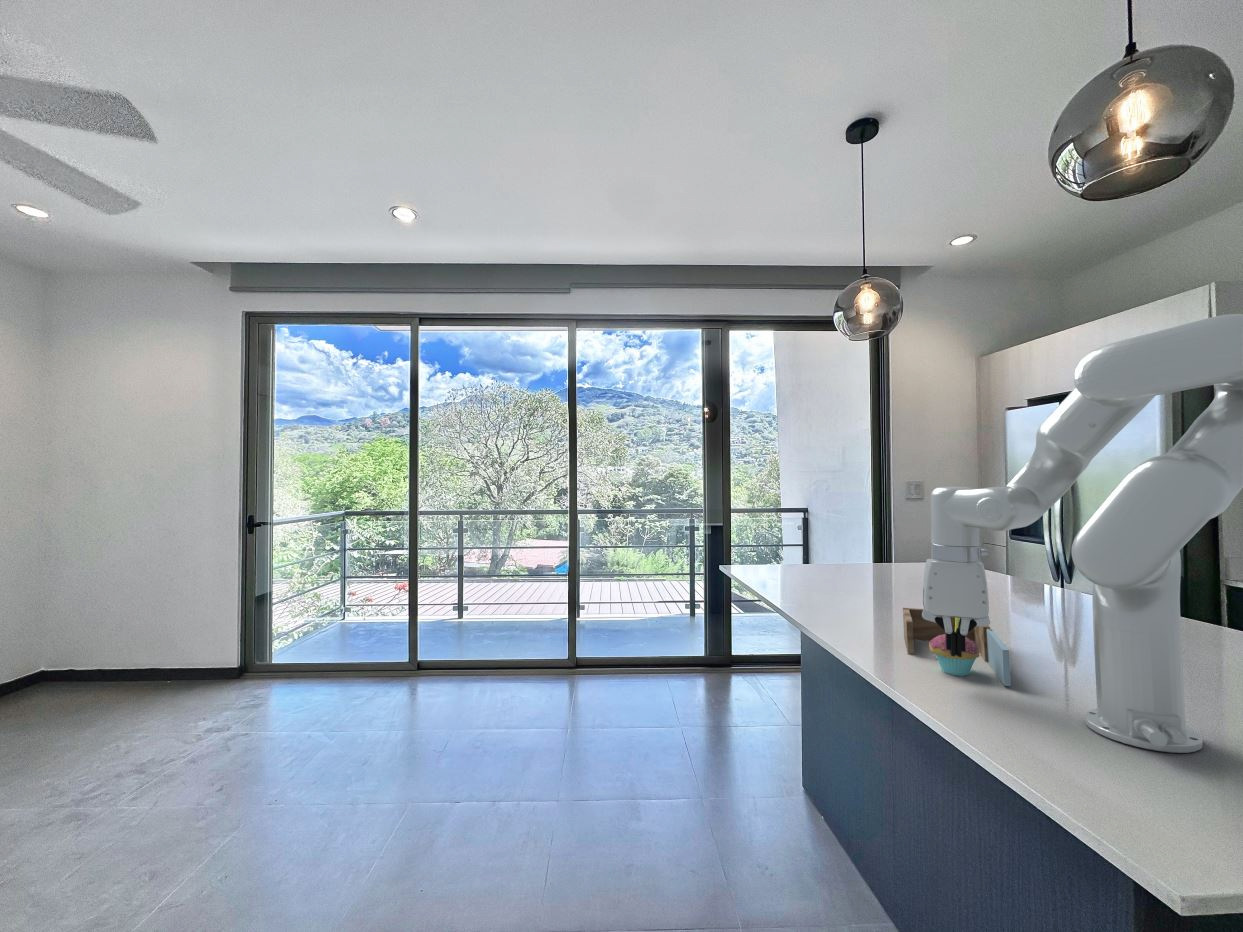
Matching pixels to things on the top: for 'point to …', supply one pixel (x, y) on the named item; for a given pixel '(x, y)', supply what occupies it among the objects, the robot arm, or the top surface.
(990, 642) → the blue grey rectangular panel
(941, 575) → the robot arm
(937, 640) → the cupcake
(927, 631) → the wooden box
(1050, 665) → the top surface
